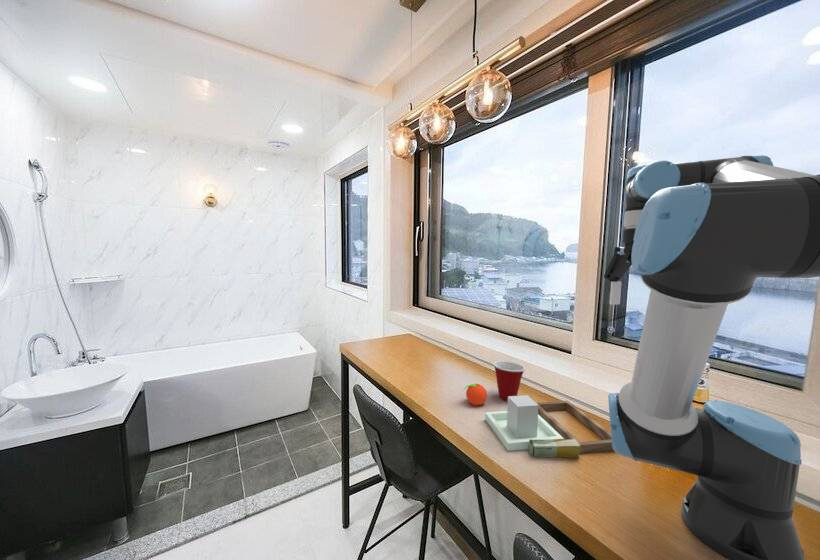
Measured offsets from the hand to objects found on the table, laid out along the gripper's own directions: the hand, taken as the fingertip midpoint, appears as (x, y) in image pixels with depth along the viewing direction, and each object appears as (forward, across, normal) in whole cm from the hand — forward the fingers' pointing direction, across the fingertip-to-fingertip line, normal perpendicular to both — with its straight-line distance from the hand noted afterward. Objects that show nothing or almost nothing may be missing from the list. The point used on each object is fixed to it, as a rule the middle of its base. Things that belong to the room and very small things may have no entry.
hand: (634, 308), depth 84 cm
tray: (+37, +6, +28) cm, 46 cm away
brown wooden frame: (+37, +7, +11) cm, 39 cm away
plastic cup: (+37, +28, +21) cm, 51 cm away
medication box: (+37, -4, +24) cm, 44 cm away
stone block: (+36, +6, +28) cm, 45 cm away
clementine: (+37, +25, +34) cm, 56 cm away
